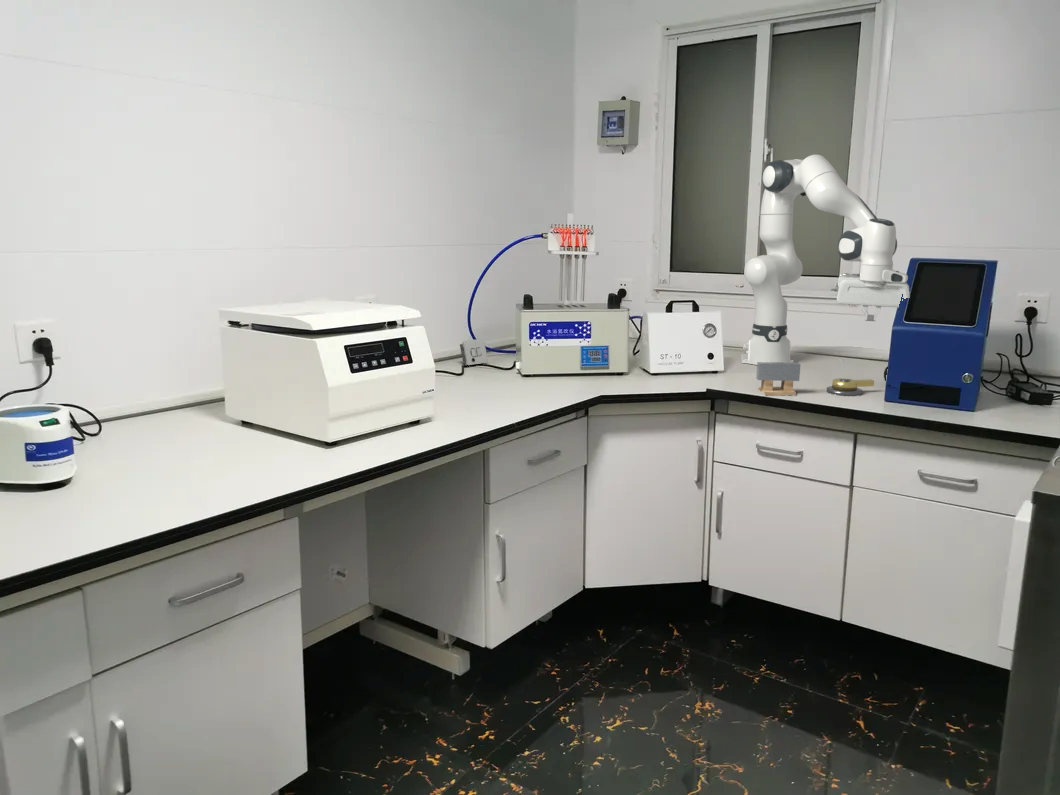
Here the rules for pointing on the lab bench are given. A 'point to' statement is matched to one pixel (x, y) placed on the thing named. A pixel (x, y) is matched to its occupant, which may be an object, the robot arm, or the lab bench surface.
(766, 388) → the rack
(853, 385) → the gold curved piece
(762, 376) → the bar
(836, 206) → the robot arm
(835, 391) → the nut base
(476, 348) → the electrical switch
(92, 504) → the lab bench surface
